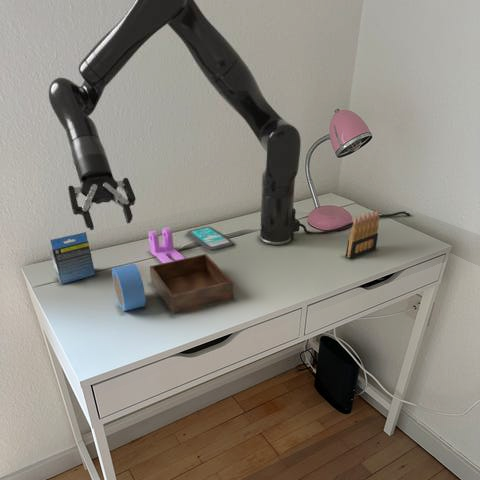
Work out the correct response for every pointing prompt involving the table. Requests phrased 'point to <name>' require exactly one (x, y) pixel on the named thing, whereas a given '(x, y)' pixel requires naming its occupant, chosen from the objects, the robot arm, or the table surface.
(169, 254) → the bracket
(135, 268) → the tape roll
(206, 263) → the wooden box
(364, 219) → the ammunition clip
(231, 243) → the smartphone
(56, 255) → the blue retail box
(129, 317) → the table surface
